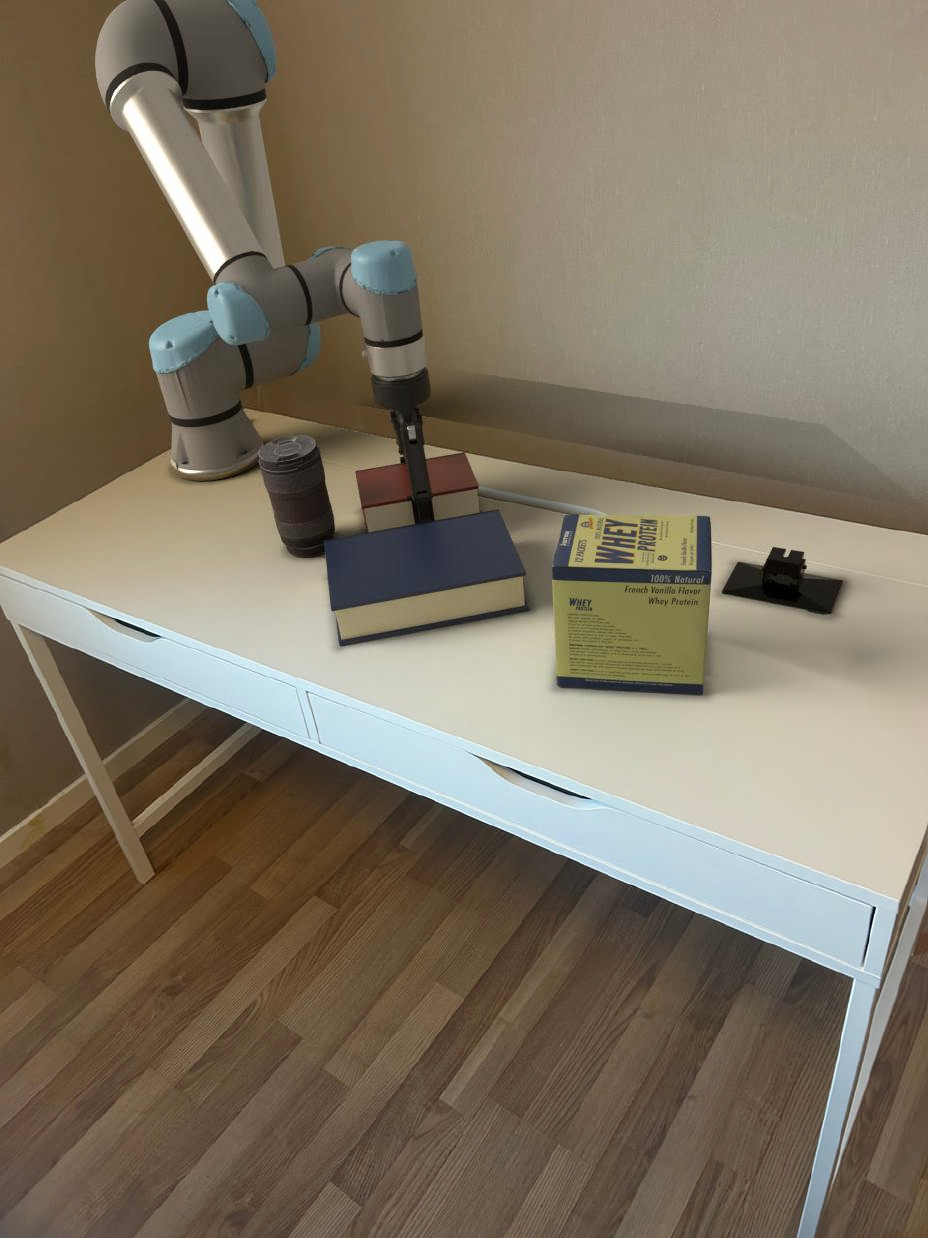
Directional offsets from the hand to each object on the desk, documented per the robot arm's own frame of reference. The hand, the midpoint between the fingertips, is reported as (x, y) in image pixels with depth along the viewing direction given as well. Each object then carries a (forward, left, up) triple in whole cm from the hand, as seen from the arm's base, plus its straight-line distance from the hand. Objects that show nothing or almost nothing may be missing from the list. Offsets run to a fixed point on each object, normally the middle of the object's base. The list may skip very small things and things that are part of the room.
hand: (421, 516), depth 133 cm
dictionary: (0, 0, 0) cm, 0 cm away
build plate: (+32, +39, -1) cm, 50 cm away
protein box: (+40, +18, -1) cm, 44 cm away
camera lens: (+2, -16, -1) cm, 16 cm away
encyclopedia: (+19, -2, 0) cm, 19 cm away
